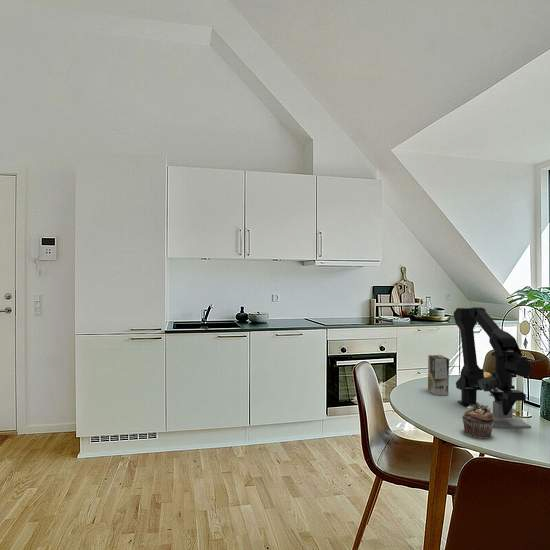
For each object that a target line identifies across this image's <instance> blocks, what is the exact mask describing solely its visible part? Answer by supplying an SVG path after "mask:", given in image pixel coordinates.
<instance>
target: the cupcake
mask: <svg viewBox="0 0 550 550" xmlns="http://www.w3.org/2000/svg"><path fill="white" fill-rule="evenodd" d="M491 413H492V412H491V407H490V406H488V405H484V404H483V405H481V404H480V403H479V402H476V404H471V405H469V406H466V409H465V411H464V414H463V415H462V416H461V418H462V422H463V430H464V433H465V434H466V433H467V434H469V435H472V436H471V437H473V436H476V437H475V438H477V437H483V438H482V439H488V438H490V437H491V435H492V432H493V428H494V427H493V424H494V421H493V415H492V414H491ZM467 434H466V435H467ZM469 435H468V436H469ZM484 437H486V438H484ZM487 437H488V438H487Z"/></svg>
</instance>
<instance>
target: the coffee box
mask: <svg viewBox="0 0 550 550" xmlns="http://www.w3.org/2000/svg"><path fill="white" fill-rule="evenodd" d="M427 357H428V359H427V390H428V391H429V392H430V393H432V394H433V396H449V385H450V384H449V383H450V382H449V378H450V377H449V376H450V359H449V358H448V357H446V356H444V355H442V354H441V355H440V354H438V355H437V354H433V355H432V354H431V355H428V356H427Z"/></svg>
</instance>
